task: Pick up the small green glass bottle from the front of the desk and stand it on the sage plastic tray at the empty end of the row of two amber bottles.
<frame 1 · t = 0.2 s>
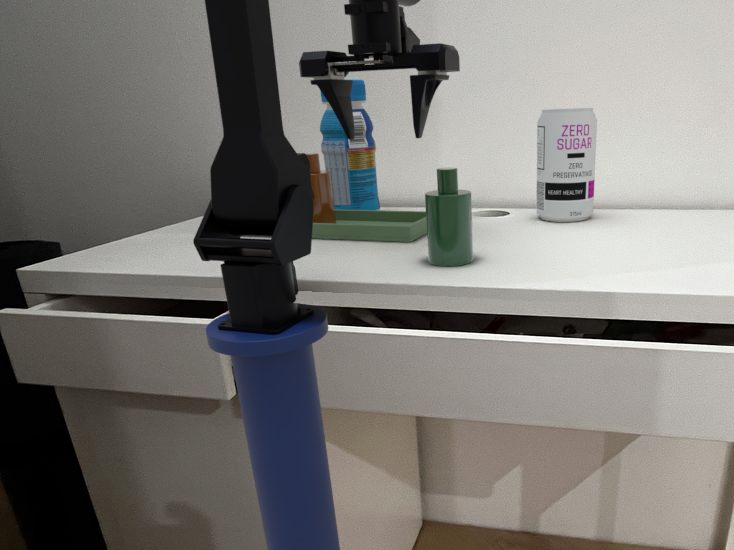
hand: (384, 138, 77), 13 cm above the table, tool pointing down, fingers open, 9 cm apart
amber bottle near: (319, 226, 89), resting on tray
beverage bottle: (355, 215, 101), on the table
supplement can: (564, 219, 92), on the table
green bottle: (450, 260, 70), on the table
tray: (325, 230, 89), on the table
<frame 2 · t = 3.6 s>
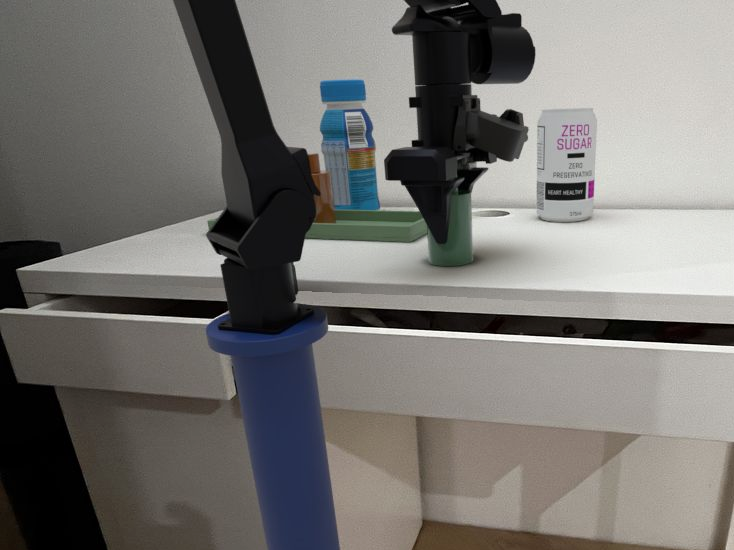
hand: (449, 238, 69), 3 cm above the table, tool pointing down, fingers closed on green bottle, 5 cm apart
green bottle: (451, 260, 70), on the table, touching gripper
everything else where it was.
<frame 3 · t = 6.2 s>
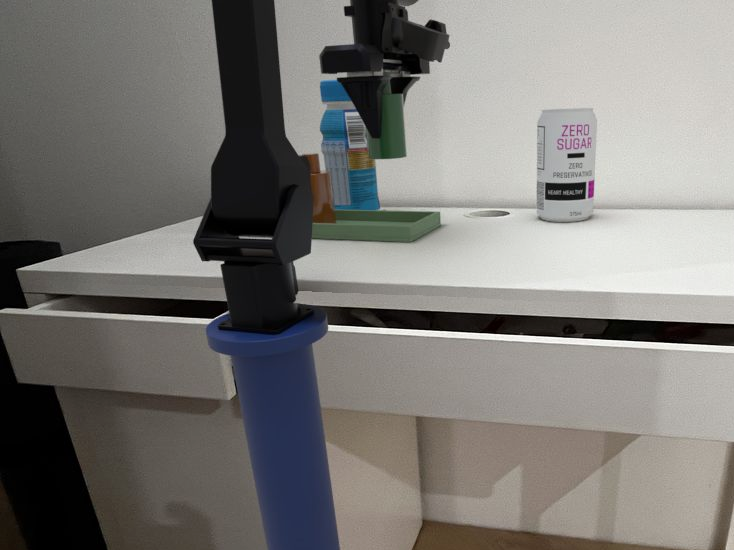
hand: (385, 136, 79), 13 cm above the table, tool pointing down, fingers closed on green bottle, 5 cm apart
green bottle: (387, 157, 80), point 10 cm above the table, touching gripper
everything else where it was.
when the fingers open (3 cm above the table, at t = 9.1 s): green bottle stays where it is, resting on tray.
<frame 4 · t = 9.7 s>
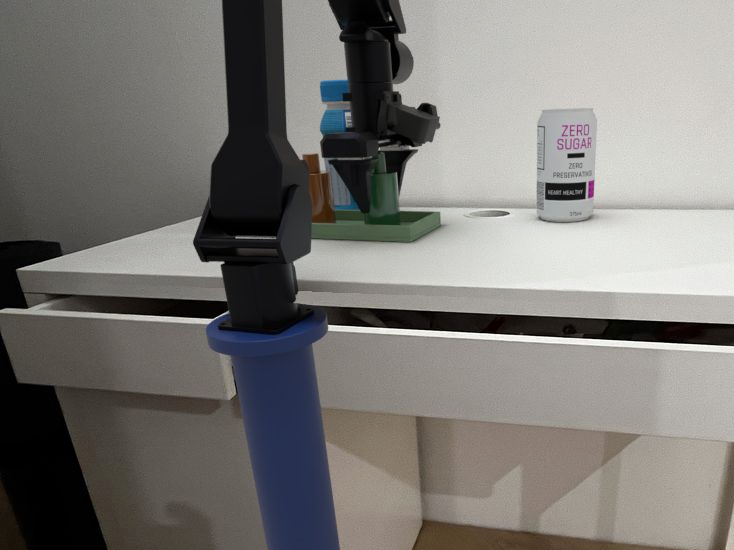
hand: (380, 207, 85), 3 cm above the table, tool pointing down, fingers open, 9 cm apart
green bottle: (382, 228, 86), point 1 cm above the table, touching tray
everything else where it was.
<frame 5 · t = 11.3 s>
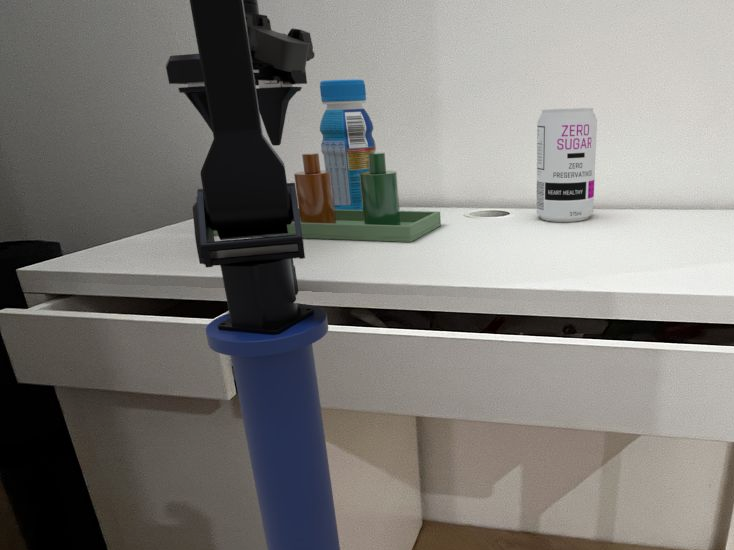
hand: (254, 148, 77), 12 cm above the table, tool pointing down, fingers open, 9 cm apart
nothing on the table moved.
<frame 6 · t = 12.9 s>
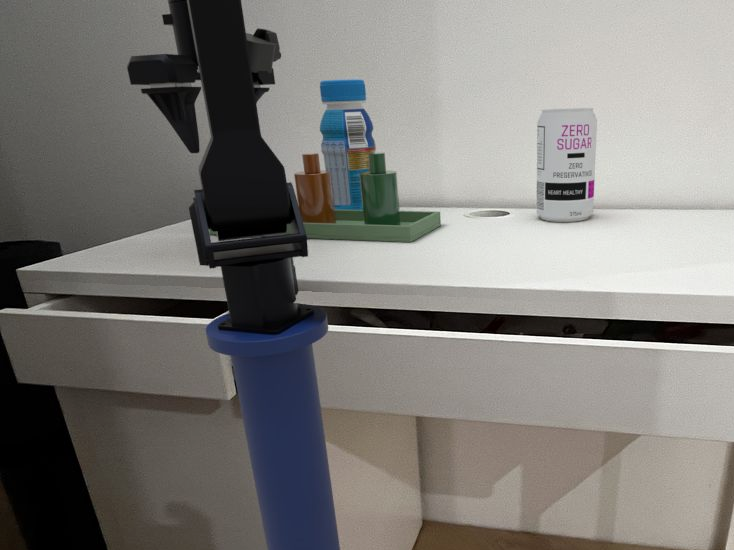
hand: (221, 149, 76), 12 cm above the table, tool pointing down, fingers open, 9 cm apart
nothing on the table moved.
at the end: green bottle 0.1 cm from the target spot in the tray, point 0.5 cm above the tray's base; green bottle tilted 0°; the gripper is holding nothing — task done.
